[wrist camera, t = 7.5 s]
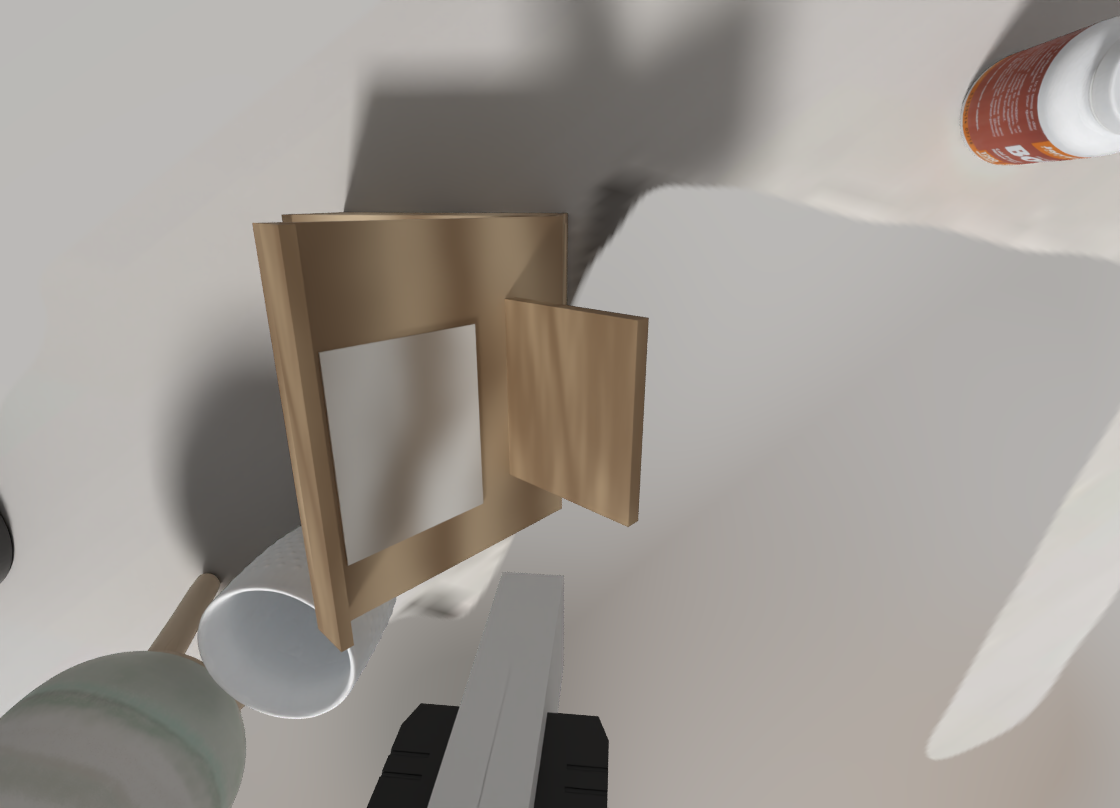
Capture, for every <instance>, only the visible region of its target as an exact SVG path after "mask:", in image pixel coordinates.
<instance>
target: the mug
mask: <svg viewBox="0 0 1120 808" xmlns="http://www.w3.org/2000/svg"><path fill="white" fill-rule="evenodd" d="M395 602H396V597H395V598H393V599H391V600H389V601H387V602H385V603H384V604H382V605H380V606H378V607H376V608H374V609H372V610H370V611H368V612H367V613H365V614H363V615H361V616H359V617H357V618H355V619H353V620H352V621H351V627H352V634H353V641H354V646H352V647H350V648H348V649H347V650H345V651H343V652H341V651H340V650H339V649H338V648H337V647H336V646H335V645H334V644H333V643H332V642H331V641H330V640H329V639H328V638H327V637H326V636H325V635H324V634H323V633H322V632H321V631H320V630H319V629H318V625H317V619H316V613H315V606H314V600H313V594H312V588H311V582H310V576H309V569H308V563H307V557H306V551H305V545H304V539H303V532H302V526H299V527H298V528H296V529H295V530H294V531H292V532H289V533H287V534H286V535H285V536H284V537H283V538H281V539H278V540H277V541H276V542H275V544H273V545H272V546H270V547H268V548H267V549H266V550H265V551H264V552H263V553H262V554H261V555H259V556H258V557H256V559H255V560H254V561H253V562H252V563H251V564H250V565H248V566H247V567H246V568H244V570H243V571H242V572H241V573H240V574H239V575H238V576H237V577H235V578H234V579H233V580H232V581H231V583H230V584H229V585H228V586H227V587H226V588H225V589H224V590H223V591H222V592H221V593H220V594H219V595H218V596H217V597H216V598H215V599H214V600H213V601H212V602H211V603H210V604H209V606H208V607H207V608H206V610H205V611H204V613H203V615H202V617H201V620H200V623H199V627H198V637H197V640H198V647H199V652H200V656H201V658H202V661H203V663H204V665H205V667H206V669H207V670H208V672H209V674H210V675H211V677H212V678H213V679H214V680H215V681H216V683H217V684H218V685H219V686H220V687H221V688H222V689H223V690H224V691H225V692H226V693H228V694H229V695H230V696H231V697H233V698H234V699H235V700H237V701H238V702H240V703H242V704H243V705H245V706H247V707H249V708H251V709H253V710H256V711H259V712H261V713H264V714H267V715H271V716H275V717H281V718H290V719H302V718H310V717H315V716H318V715H321V714H323V713H326V712H328V711H330V710H332V709H333V708H335V707H336V706H338V705H339V704H340V703H341V702H342V701H343V700H344V699H345V698H346V697H347V696H348V694H349V693H350V692H351V690H352V689H353V687H354V685H355V683H356V681H357V680H358V678H359V676H360V675H361V673H362V671H363V670H364V668H365V667H366V665H367V663H368V661H369V659H370V657H371V655H372V654H373V652H374V651H375V648H376V645H377V644H378V642H379V641H380V639H381V637H382V633H383V631H384V630H385V628H386V627H387V625H388V621H389V618H390V616H391V615H392V612H393V607H394V605H395Z"/></svg>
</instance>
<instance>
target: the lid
mask: <svg viewBox="0 0 1120 808" xmlns="http://www.w3.org/2000/svg"><path fill="white" fill-rule="evenodd" d="M252 224H253V231H254V237H255V243H256V249H257V255H258V261H259V267H260V274H261V280H262V286H263V292H264V298H265V304H266V311H267V317H268V323H269V329H270V335H271V341H272V348H273V354H274V360H275V366H276V372H277V378H278V385H279V391H280V397H281V403H282V409H283V415H284V422H285V428H286V434H287V440H288V446H289V452H290V459H291V465H292V471H293V477H294V483H295V489H296V496H297V502H298V508H299V514H300V520H301V526H302V532H303V539H304V545H305V551H306V557H307V563H308V569H309V576H310V582H311V588H312V594H313V600H314V606H315V613H316V619H317V625H318V629H319V630H320V631H321V632H322V633H323V634H324V635H325V636H326V637H327V638H328V639H329V640H330V641H331V642H332V643H333V644H334V645H335V646H336V647H337V648H338V649H339V650H340V651H341V652H343V651H345V650H347V649H348V648H350V647H352V646H354V641H353V634H352V627H351V621H352V620H353V619H355V618H357V617H359V616H361V615H363V614H365V613H367V612H368V611H370V610H372V609H374V608H376V607H378V606H380V605H382V604H384V603H385V602H387V601H389V600H391V599H393V598H395V597H397V596H399V595H400V594H402V593H404V592H406V591H408V590H410V589H412V588H414V587H415V586H417V585H419V584H421V583H423V582H425V581H427V580H429V579H430V578H432V577H434V576H436V575H438V574H440V573H442V572H444V571H445V570H447V569H449V568H451V567H453V566H455V565H457V564H459V563H460V562H462V561H464V560H466V559H468V558H470V557H472V556H474V555H475V554H477V553H479V552H481V551H483V550H485V549H487V548H489V547H490V546H492V545H494V544H496V543H498V542H500V541H502V540H504V539H505V538H507V537H509V536H511V535H513V534H515V533H517V532H519V531H520V530H522V529H524V528H526V527H528V526H530V525H532V524H534V523H535V522H537V521H539V520H541V519H543V518H545V517H546V516H548V515H550V514H552V513H554V512H556V511H558V510H560V509H562V498H564V499H566V500H569V501H571V502H573V503H575V504H578V505H580V506H582V507H584V508H586V509H589V510H591V511H593V512H595V513H598V514H600V515H602V516H604V517H607V518H609V519H611V520H613V521H616V522H618V523H621V524H622V525H625V526H627V527H629V526H631V525H632V524H634V523H635V522H637V521H638V512H639V493H640V471H641V455H642V435H643V416H644V397H645V376H646V358H647V357H646V356H647V339H648V319H649V318H646V317H639V316H633V315H627V314H620V313H614V312H607V311H601V310H595V309H588V308H582V307H575V306H569V305H563V304H562V282H563V216H537V217H493V218H450V219H407V220H363V221H320V222H277V223H252Z"/></svg>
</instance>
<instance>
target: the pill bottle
mask: <svg viewBox="0 0 1120 808" xmlns="http://www.w3.org/2000/svg"><path fill="white" fill-rule="evenodd" d="M960 131H961V135H962V138H963V141H964V143H965V145H966V146H967V148H968V149H969V151H970V152H971V153H972V154H973V155H974V156H976V157H977V158H978V159H980V160H982V161H984V162H987V163H990V164H994V165H1018V164H1028V163H1038V162H1049V161H1062V160H1072V159H1081V158H1091V157H1099V156H1104V155H1110V154H1114V153H1117V152H1120V16H1117V17H1114V18H1111V19H1108V20H1105V21H1101V22H1099V23H1096V24H1093V25H1091V26H1088V27H1086V28H1083V29H1080V30H1077V31H1075V32H1072V33H1070V34H1067V35H1064V36H1062V37H1059V38H1056V39H1053V40H1051V41H1048V42H1045V43H1043V44H1040V45H1037V46H1035V47H1032V48H1029V49H1027V50H1024V51H1021V52H1018V53H1015V54H1013V55H1011V56H1008V57H1006V58H1004V59H1002V60H1000V61H999V62H997V63H995V64H994V65H993V66H991V67H990V68H988V69H987V70H986V71H985V72H984V73H983V74H982V75H981V76H980V77H979V78H978V79H977V80H976V81H975V83H974V84H973V85H972V87H971V88H970V90H969V92H968V93H967V95H966V97H965V100H964V102H963V105H962V109H961V114H960Z"/></svg>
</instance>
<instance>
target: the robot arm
mask: <svg viewBox="0 0 1120 808" xmlns="http://www.w3.org/2000/svg"><path fill="white" fill-rule="evenodd" d="M11 562H12V544H11V539H10V535H9V532H8V529H7V527H6V524H5V522H4V520H3V518H2V516H1V515H0V583H1V582H2V581H3V580H4V578H5V577H6V575H7V574H8V572H9V569H10V566H11ZM563 660H564V576H561V575H544V574H528V573H512V572H502V576H501V579H500V582H499V585H498V588H497V591H496V594H495V598H494V601H493V604H492V607H491V610H490V613H489V617H488V619H487V623H486V626H485V629H484V632H483V635H482V638H481V641H480V644H479V648H478V651H477V654H476V657H475V660H474V663H473V666H472V669H471V673H470V676H469V679H468V682H467V685H466V688H465V691H464V694H463V698H462V701H461V704H460V707H458V706H447V705H434V704H423V703H421V704H420V705H419V706H418V707H417V708H416V710H414V712H413V713H412V714H411V715H410V716H409V717H408V718H407V719H406V720H405V721H404V722H403V724H402V725H401V727H400V730H399V732H398V735H397V737H396V739H395V742H394V744H393V746H392V749H391V754H390V755H389V756H388V758H387V761H386V763H385V765H384V768H383V770H382V775H381V777H379V780H378V783H377V785H376V787H375V790H374V792H373V794H372V796H371V799H370V801H369V804H368V806H367V808H607V791H608V790H607V789H608V748H609V740H608V738H607V736H606V733H605V731H604V728H603V726H602V724H601V721H600V719H599V717H598V716H586V715H575V714H563V713H558V706H559V698H560V691H561V683H562V673H563V666H564V661H563Z"/></svg>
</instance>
